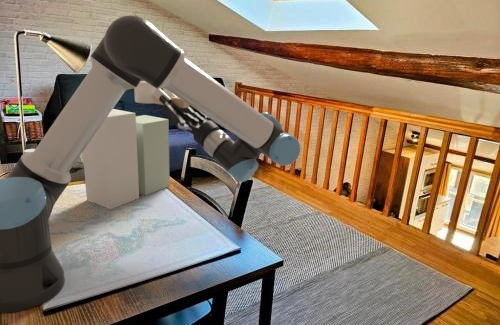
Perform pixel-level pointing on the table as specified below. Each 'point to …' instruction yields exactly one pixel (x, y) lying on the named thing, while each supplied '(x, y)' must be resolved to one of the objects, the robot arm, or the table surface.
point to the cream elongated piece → (146, 95)
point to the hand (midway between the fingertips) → (159, 90)
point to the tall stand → (112, 161)
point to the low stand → (152, 153)
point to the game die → (79, 162)
